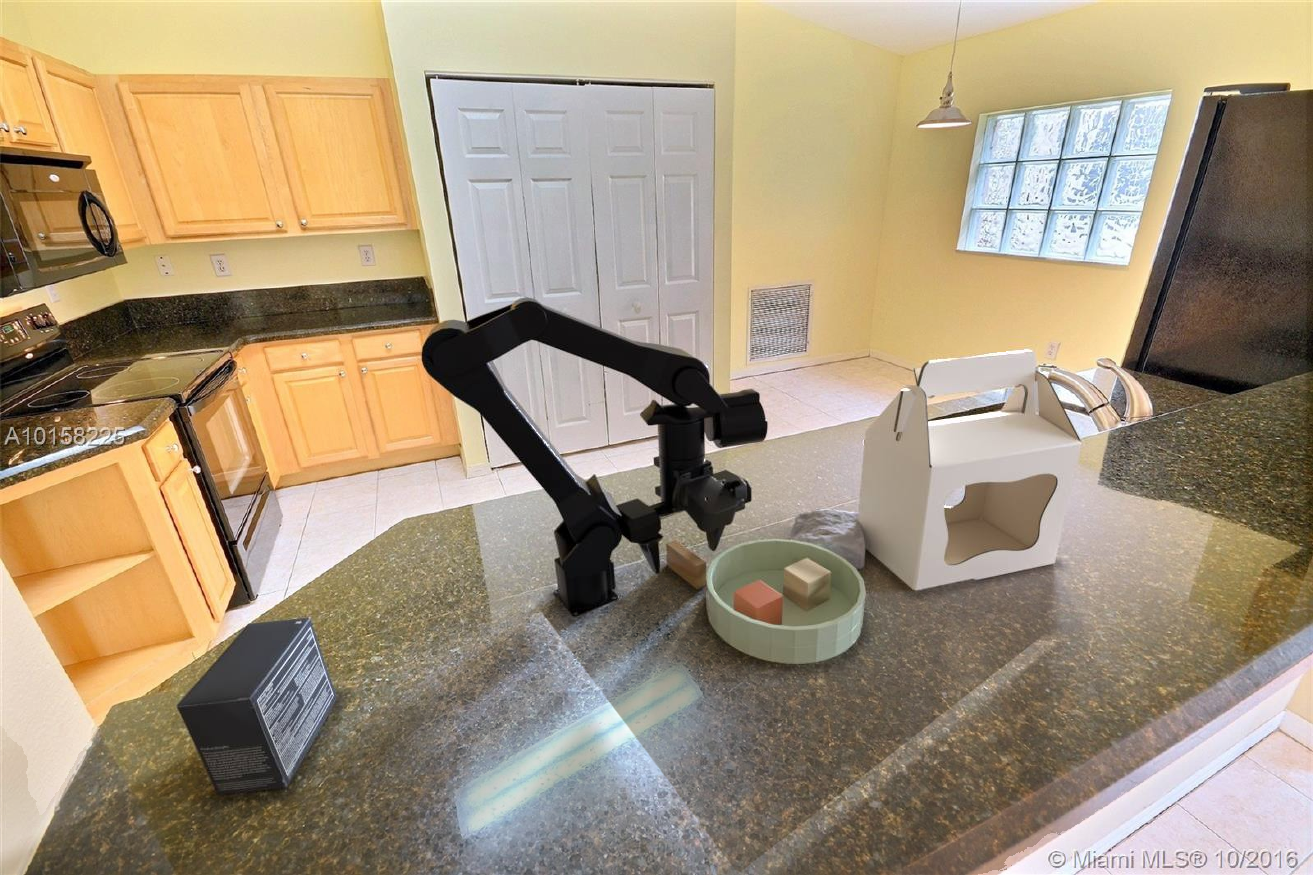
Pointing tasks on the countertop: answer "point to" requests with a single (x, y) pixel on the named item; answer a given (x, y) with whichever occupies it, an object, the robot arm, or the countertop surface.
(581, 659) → the countertop surface
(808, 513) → the stone block
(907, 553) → the gable box
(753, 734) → the countertop surface
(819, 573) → the cream block
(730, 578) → the bowl
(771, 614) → the terracotta block
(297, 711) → the small box
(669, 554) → the oak wood brick
